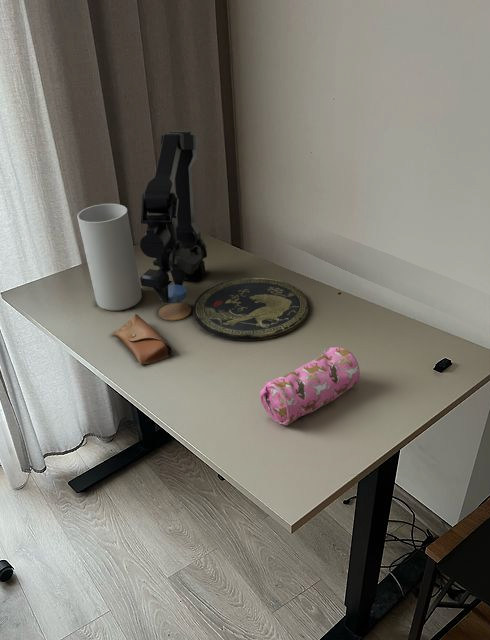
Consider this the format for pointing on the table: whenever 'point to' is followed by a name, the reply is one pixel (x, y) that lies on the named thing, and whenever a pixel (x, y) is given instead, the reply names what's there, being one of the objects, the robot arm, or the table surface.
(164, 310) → the coaster
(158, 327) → the table surface
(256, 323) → the decorative plate
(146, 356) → the sunglasses case
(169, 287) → the flat blue disc
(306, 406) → the pencil case
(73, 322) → the table surface
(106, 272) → the cylinder vase
